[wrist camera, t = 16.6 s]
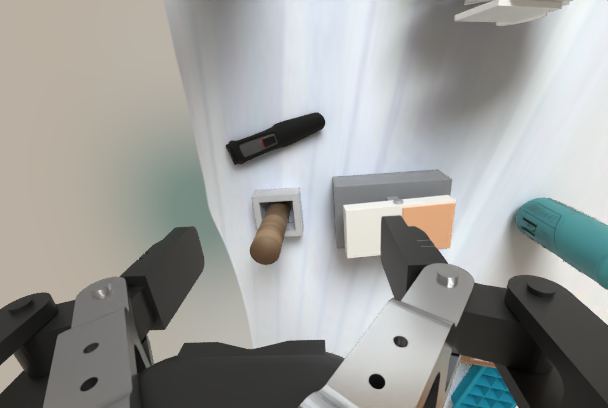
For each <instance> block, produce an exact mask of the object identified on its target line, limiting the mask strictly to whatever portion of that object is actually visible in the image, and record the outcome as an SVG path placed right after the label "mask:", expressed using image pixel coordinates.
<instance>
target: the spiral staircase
mask: <svg viewBox="0 0 608 408" xmlns="http://www.w3.org/2000/svg"><path fill="white" fill-rule="evenodd" d="M486 1H490V2H488V3H485V4H483V5H480V6H477V7H475V8H472V9H470V10H467V11H464V12H462V13H459V14H457V15H455V20H454V21H465V22H496V25H497V26H506V25H514V24H519V23H524V22H528V21H532V20H536V19H539V18H542V17H544V16H546V15H547V13H548V12H551V11H554V10H558V9H561V8H562V6H564V5H569V3H570V1H572V0H493V1H491V0H465V2H464V6H465V5H470V4H475V3H481V2H486Z"/></svg>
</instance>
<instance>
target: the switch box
mask: <svg viewBox="0 0 608 408" xmlns="http://www.w3.org/2000/svg"><path fill="white" fill-rule="evenodd" d="M451 184H452V179H451V178H449V177H448V176H446V175H445V174H443V173H442V172H440V171H439V170H426V171H411V172H397V173H382V174H368V175H353V176H338V177H333V190H334V210H335V229H336V240H337V248H345V239H344V212H343V205H349V204H360V203H370V202H380V201H390V200H394V199H411V198H421V197H431V196H441V195H449V196H450V192H451Z"/></svg>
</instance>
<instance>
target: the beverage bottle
mask: <svg viewBox="0 0 608 408" xmlns="http://www.w3.org/2000/svg"><path fill="white" fill-rule="evenodd" d="M559 202H560V201H559ZM559 202H557V201H556V200H552V199H550V198H536V199H533V200H531V201H529V202H527V203H526V204H524V205H523V206H522V207H521V208H520V210H519V211H518V213H517V215H516V224H517V226H518V227H519V229H520V230H521V231H522V232H523V233H524V234H527V237H528V236H529V237H531V238H530V239H533V240H535V241H537V242H538V243H540V244H541V245H542V246H543V247H544V248H547V250H548V251H549V250H550V252H553V253H554V254H556V255H557V256H558V257H560V258H561V259H563V262H564V261H565V262H567V264H568V263H569V264H570V265H572V267H575V268H576V269H578V272H579V271H580V272H582V274H583V273H584V274H585V275H587V276H588V277H590V278H591V279H593V280H594V281H596V282H597V283H599V285H601V286H602V287H603V288H605V289H607V290H608V225H606V224H604V223H601V222H599V221H597V220H596V219H597V218H595V219H594V217H593V218H592V217H590V216H587V215H588V214H587V215H585V213H584V214H583V213H581V212H579V211H576V210H577V209H575V210H574V208H573V207H572V208H573V209H572V208H570V207H571V206H570V207H568V206H566V205H565V204H564V205H563V203H559ZM537 242H536V243H537ZM569 264H568V265H569Z"/></svg>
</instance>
